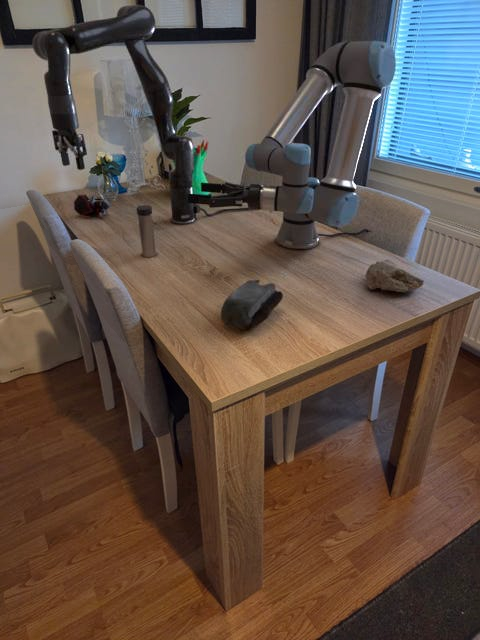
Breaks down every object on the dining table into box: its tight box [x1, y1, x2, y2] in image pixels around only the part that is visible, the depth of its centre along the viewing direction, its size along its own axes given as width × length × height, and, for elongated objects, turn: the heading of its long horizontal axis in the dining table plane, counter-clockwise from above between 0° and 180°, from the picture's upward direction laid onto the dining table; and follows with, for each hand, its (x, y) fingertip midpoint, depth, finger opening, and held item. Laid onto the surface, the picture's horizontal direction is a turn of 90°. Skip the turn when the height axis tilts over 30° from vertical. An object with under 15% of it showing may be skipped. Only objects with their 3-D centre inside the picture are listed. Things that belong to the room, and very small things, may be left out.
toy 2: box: [168, 137, 212, 195], centre depth 210 cm, size 20×20×25 cm
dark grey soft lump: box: [220, 279, 284, 332], centre depth 117 cm, size 18×11×8 cm, turn 152°
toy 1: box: [73, 194, 111, 220], centre depth 187 cm, size 12×9×15 cm
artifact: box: [365, 259, 424, 293], centre depth 134 cm, size 18×8×15 cm
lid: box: [136, 204, 153, 216], centre depth 147 cm, size 5×5×2 cm
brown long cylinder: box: [137, 213, 157, 258], centre depth 151 cm, size 4×4×16 cm
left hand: (73, 167), depth 141 cm, fingers open, 8 cm apart
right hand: (195, 192), depth 139 cm, fingers open, 13 cm apart
